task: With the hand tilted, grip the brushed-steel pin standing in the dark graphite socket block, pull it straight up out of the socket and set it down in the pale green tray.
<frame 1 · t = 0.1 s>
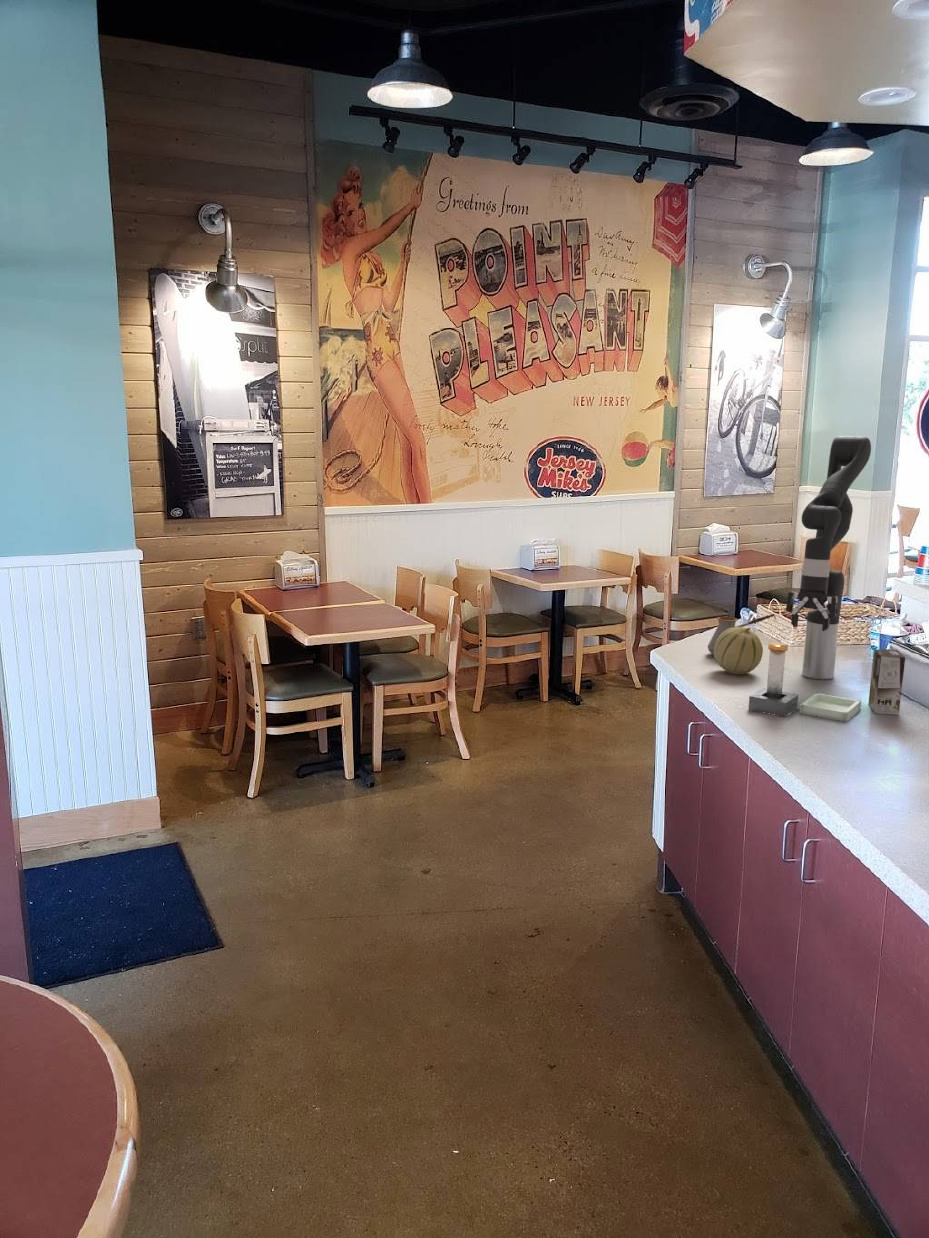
hand: (809, 628, 280), 17 cm above the worktop, tool pointing down, fingers open, 8 cm apart
socket block: (772, 709, 260), on the worktop
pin: (775, 677, 258), in the socket block
coffee box: (883, 710, 260), on the worktop
cantaloupe: (736, 673, 296), on the worktop
coffee pot: (739, 657, 317), on the worktop
tray: (830, 711, 258), on the worktop
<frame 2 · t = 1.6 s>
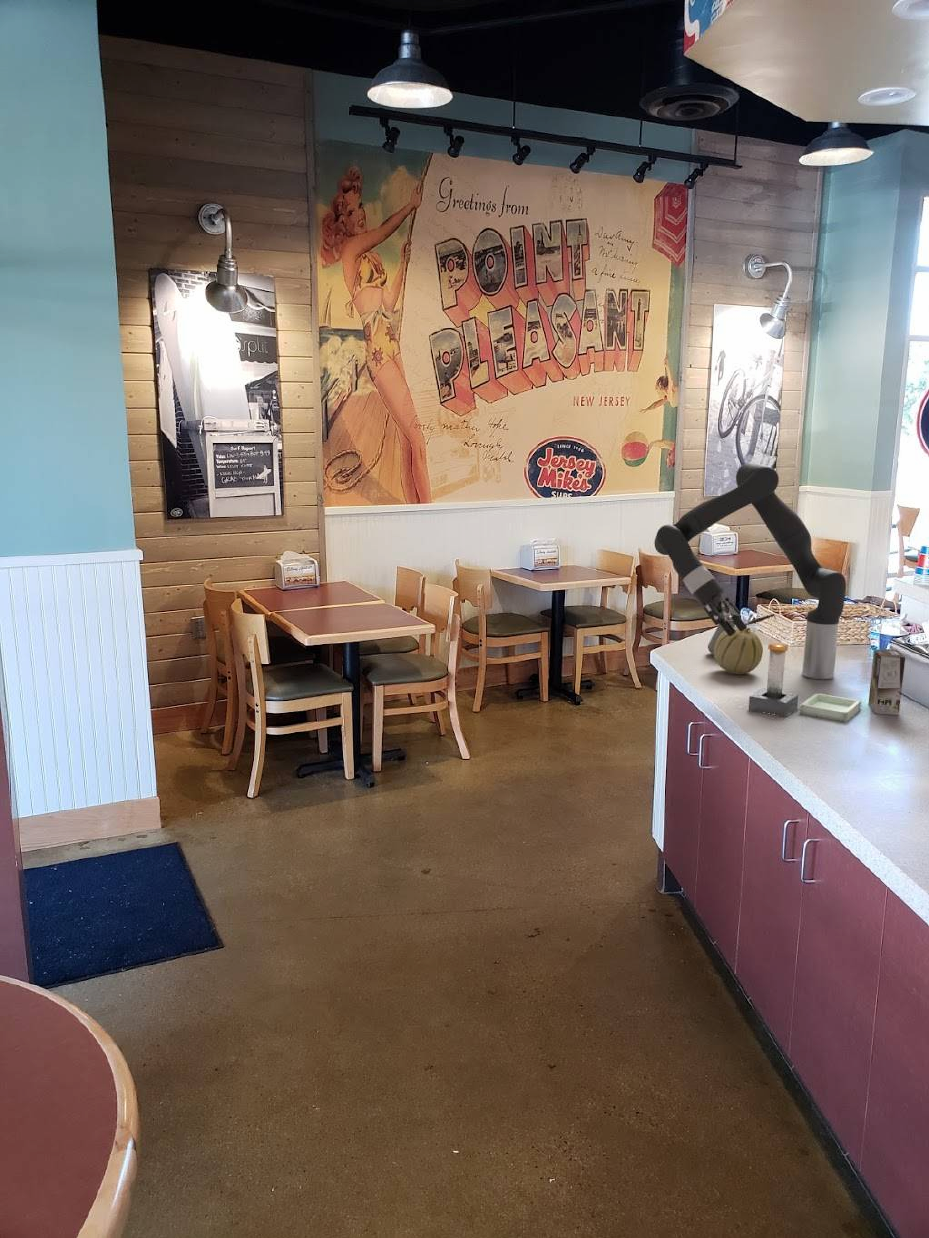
hand: (738, 632, 262), 20 cm above the worktop, tool tilted 45°, fingers open, 8 cm apart
nothing on the worktop moved.
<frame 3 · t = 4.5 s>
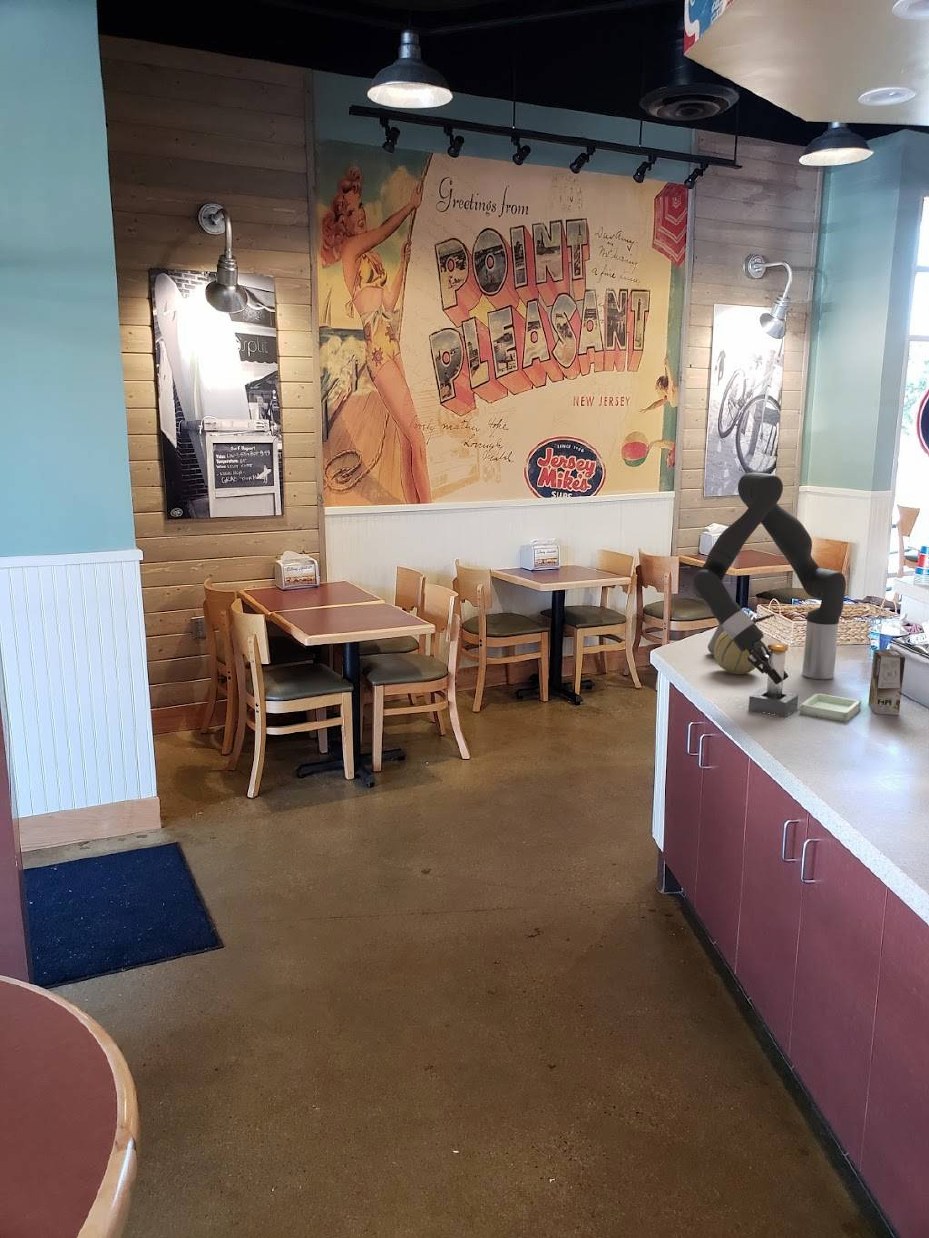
hand: (782, 680, 257), 9 cm above the worktop, tool tilted 45°, fingers closed on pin, 4 cm apart
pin: (775, 677, 258), in the socket block, touching gripper
everything else where it was.
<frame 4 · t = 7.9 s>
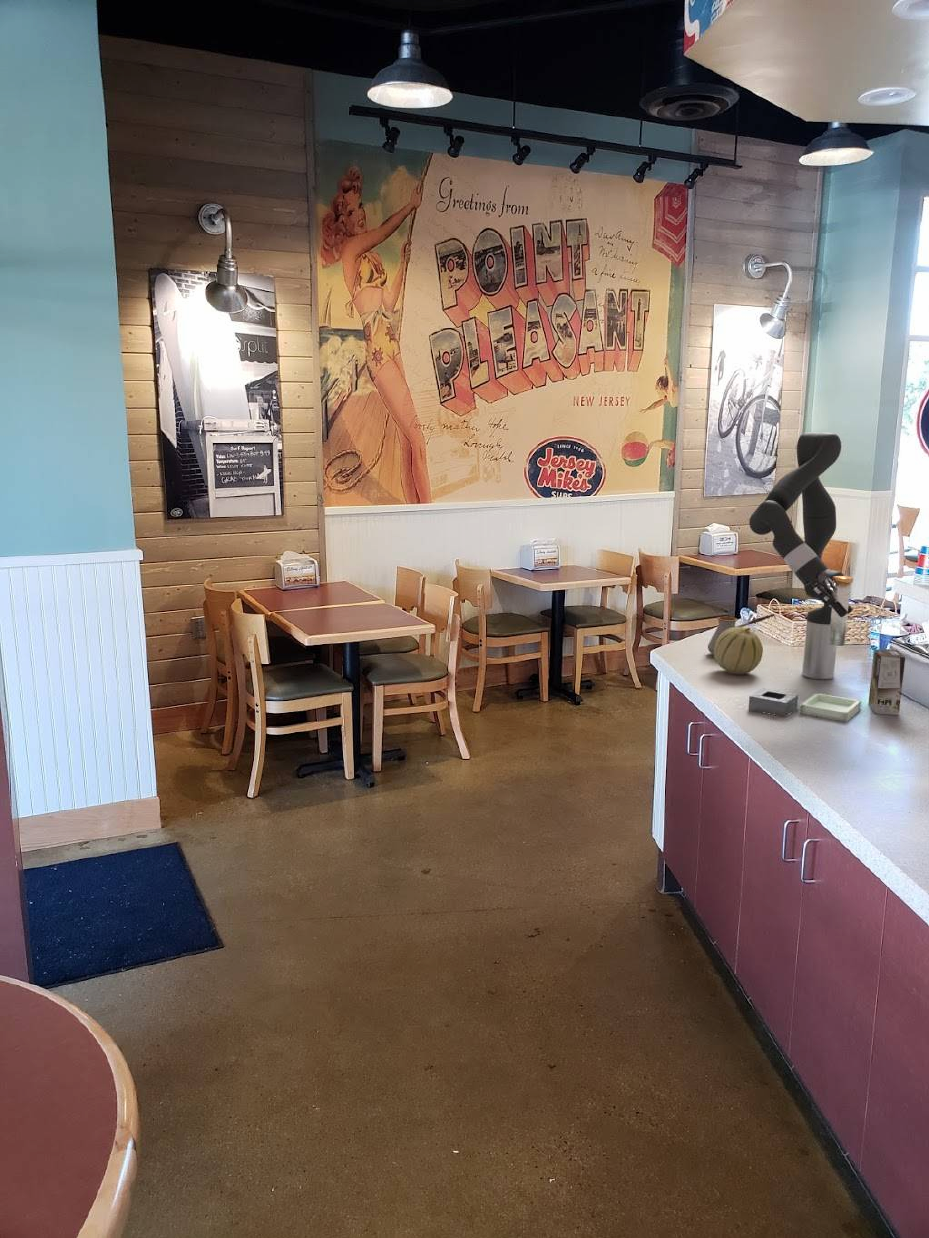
hand: (847, 613, 251), 27 cm above the worktop, tool tilted 45°, fingers closed on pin, 4 cm apart
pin: (839, 611, 252), point 28 cm above the worktop, touching gripper
everything else where it was.
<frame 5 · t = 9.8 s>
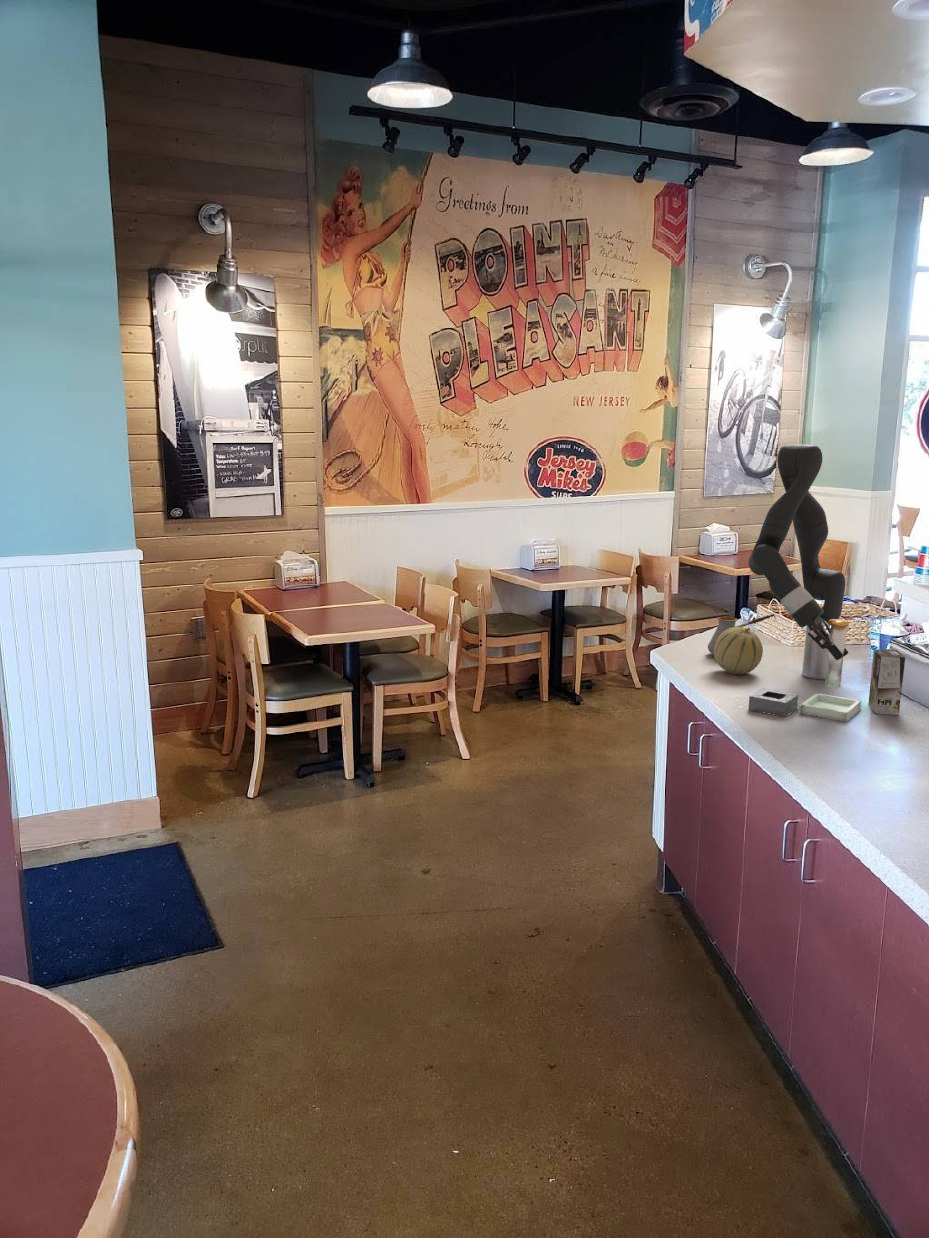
hand: (842, 656, 254), 16 cm above the worktop, tool tilted 45°, fingers closed on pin, 4 cm apart
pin: (835, 653, 255), point 16 cm above the worktop, touching gripper
everything else where it was.
when the fingers open (10 cm above the worktop, at t = 11.3 s): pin drops 1 cm, resting on tray.
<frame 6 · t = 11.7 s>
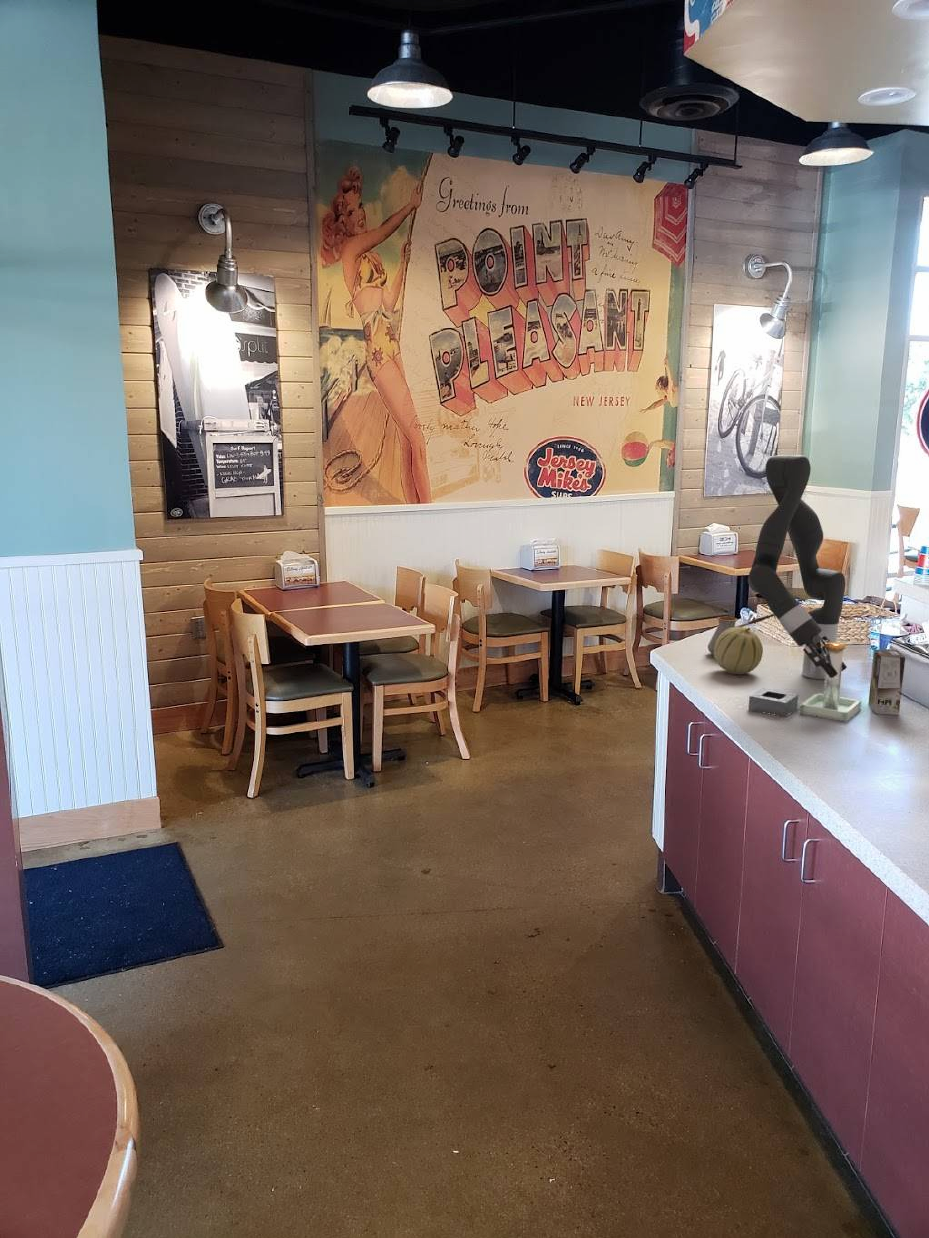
hand: (839, 672, 255), 11 cm above the worktop, tool tilted 45°, fingers open, 8 cm apart
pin: (832, 676, 256), in the tray, point 10 cm above the worktop
everything else where it was.
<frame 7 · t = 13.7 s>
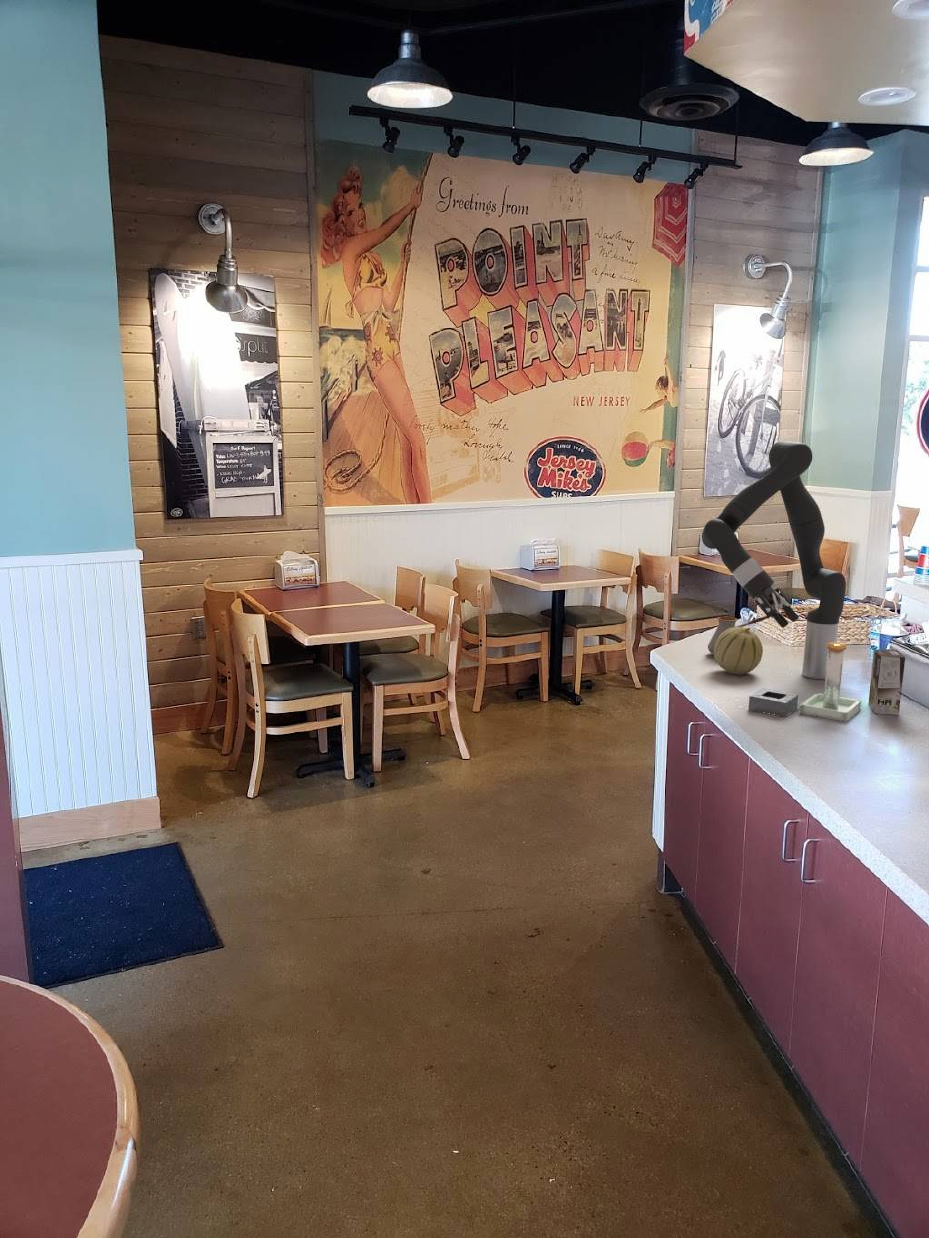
hand: (791, 622, 262), 23 cm above the worktop, tool tilted 45°, fingers open, 8 cm apart
nothing on the worktop moved.
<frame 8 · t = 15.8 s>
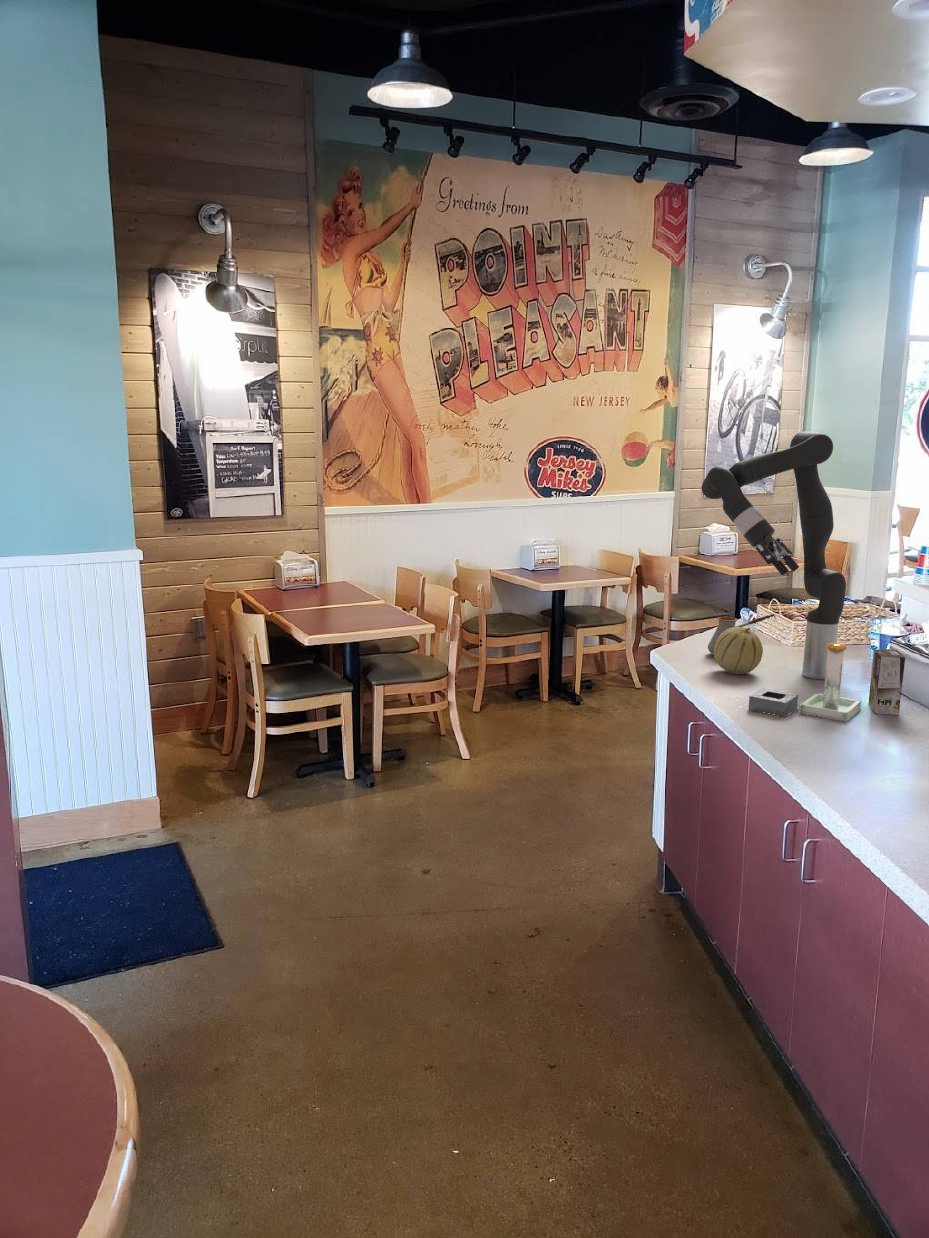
hand: (791, 571, 261), 37 cm above the worktop, tool tilted 45°, fingers open, 8 cm apart
nothing on the worktop moved.
at the end: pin inside the target area on the tray (0.1 cm from its centre), point 9.8 cm above the tray's base; the gripper is holding nothing; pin touching tray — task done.
